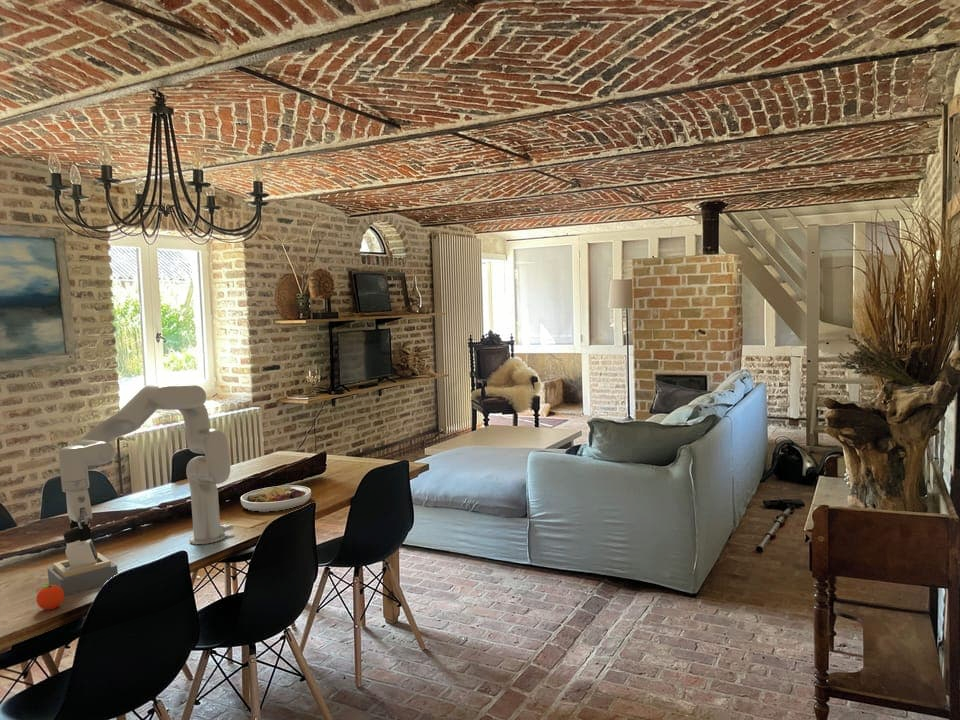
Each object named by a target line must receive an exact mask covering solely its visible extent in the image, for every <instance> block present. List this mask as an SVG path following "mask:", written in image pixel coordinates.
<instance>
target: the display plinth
mask: <svg viewBox="0 0 960 720" xmlns="http://www.w3.org/2000/svg"><path fill="white" fill-rule="evenodd" d="M97 554H98V558H97V562H96V563H94V564H91V565H88V566H84V567H80V568H76V569H71V567H70V564H69V561H68V559H66V560H65V559H64V560H61V561H58V562H54V563H52V567H51V566H50V567H47V569H46V570H47V578H48V579H47V581H48V585H57V586H59V587H61V588H62V590H63V592H64V595H65V596H68V595H71V594H70V593H72V594H75V593H74V592H76V593H79V592H82V590H83V591H86V590H89V589H94V588H97V587H100V586H101V587H102V586H104V585H103V584H104V583H105V582H106V581H107V580H109V579H110V578H111V577H113V576H114V575H116V574H118V565H117V564H116V563H114V562H113V561H112V560H110V559H109V558H108V557H106V556H104V555H103V554H101V553H100V552H97ZM118 575H119V574H118ZM78 591H79V592H78ZM67 594H68V595H67Z"/></svg>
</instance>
